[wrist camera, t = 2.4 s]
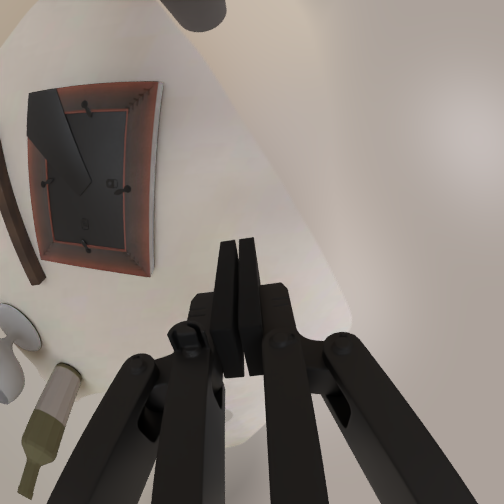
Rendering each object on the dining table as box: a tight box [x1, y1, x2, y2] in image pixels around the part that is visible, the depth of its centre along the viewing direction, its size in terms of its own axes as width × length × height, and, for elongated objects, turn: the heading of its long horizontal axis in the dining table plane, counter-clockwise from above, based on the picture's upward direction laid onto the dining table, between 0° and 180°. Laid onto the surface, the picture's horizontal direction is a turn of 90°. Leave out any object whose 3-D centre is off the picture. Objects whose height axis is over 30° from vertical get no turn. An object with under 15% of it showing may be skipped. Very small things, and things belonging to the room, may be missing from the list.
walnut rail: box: [0, 141, 46, 285], centre depth 28 cm, size 24×2×2 cm, turn 8°
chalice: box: [0, 304, 41, 404], centre depth 34 cm, size 14×14×15 cm
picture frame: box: [27, 81, 163, 277], centre depth 28 cm, size 16×2×22 cm
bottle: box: [18, 363, 82, 500], centre depth 32 cm, size 7×7×30 cm
